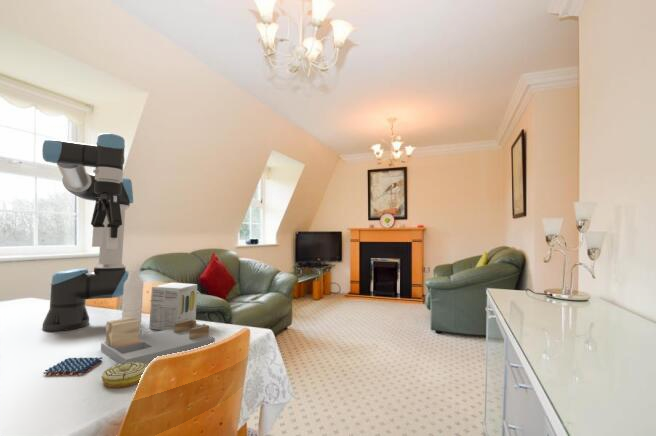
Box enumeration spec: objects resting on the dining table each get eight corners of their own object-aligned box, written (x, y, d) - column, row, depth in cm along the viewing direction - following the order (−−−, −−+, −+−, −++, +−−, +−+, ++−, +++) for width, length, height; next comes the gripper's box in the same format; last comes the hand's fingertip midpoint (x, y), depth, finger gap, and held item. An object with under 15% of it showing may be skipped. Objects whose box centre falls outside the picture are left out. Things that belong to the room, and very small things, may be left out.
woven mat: (66, 363, 99) (67, 356, 100) (103, 363, 101) (104, 356, 101) (40, 378, 89) (41, 370, 89) (82, 377, 90) (82, 370, 90)
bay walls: (174, 332, 123) (174, 323, 123) (191, 328, 129) (192, 319, 129) (190, 339, 116) (191, 329, 116) (208, 335, 121) (209, 325, 121)
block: (105, 342, 109) (106, 321, 110) (131, 337, 115) (132, 317, 116) (111, 346, 106) (113, 325, 106) (138, 341, 112) (139, 320, 112)
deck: (100, 350, 109) (101, 342, 109) (184, 332, 132) (184, 325, 132) (125, 368, 96) (126, 359, 96) (214, 344, 118) (214, 337, 119)
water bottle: (119, 341, 119) (123, 272, 121) (121, 335, 125) (125, 270, 126) (146, 338, 123) (150, 271, 125) (147, 333, 129) (150, 269, 130)
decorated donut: (127, 370, 95) (128, 357, 95) (156, 376, 92) (157, 362, 92) (91, 385, 85) (92, 370, 85) (122, 393, 82) (123, 377, 82)
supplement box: (176, 332, 132) (179, 288, 133) (148, 329, 135) (151, 286, 136) (196, 323, 145) (198, 283, 146) (170, 321, 148) (172, 282, 149)
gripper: (82, 183, 111) (78, 246, 110) (109, 176, 95) (104, 249, 94) (108, 186, 117) (104, 245, 115) (136, 180, 101) (132, 249, 100)
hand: (104, 247), depth 105 cm, fingers open, 13 cm apart
